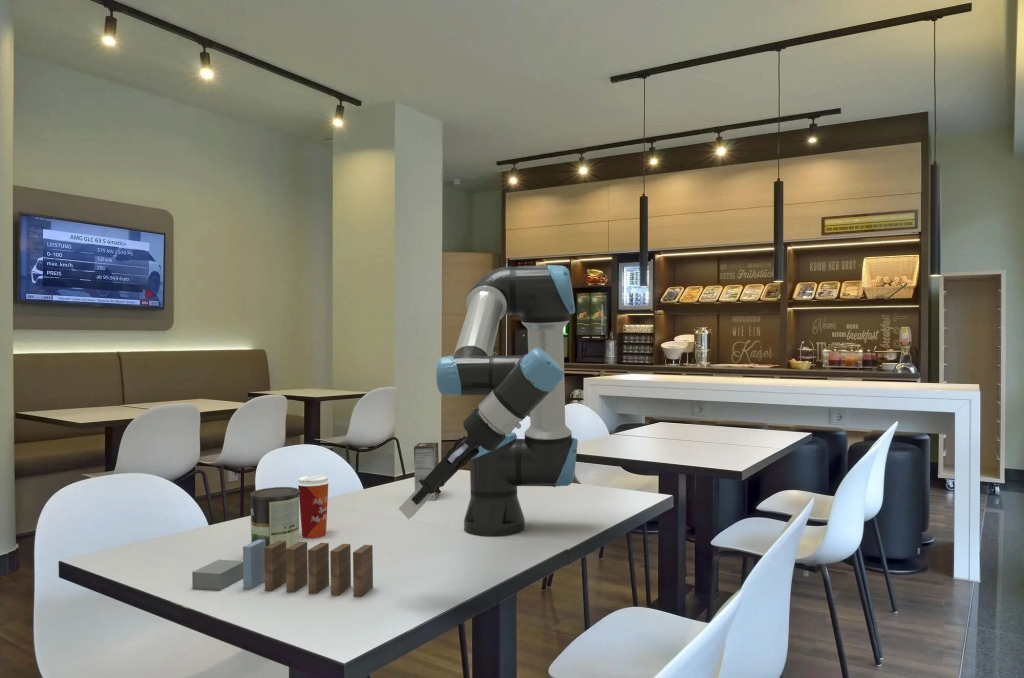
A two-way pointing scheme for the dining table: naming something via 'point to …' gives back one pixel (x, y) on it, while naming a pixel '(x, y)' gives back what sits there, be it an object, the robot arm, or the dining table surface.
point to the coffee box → (425, 462)
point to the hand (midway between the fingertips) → (404, 512)
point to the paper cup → (313, 505)
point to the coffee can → (275, 515)
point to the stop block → (217, 575)
